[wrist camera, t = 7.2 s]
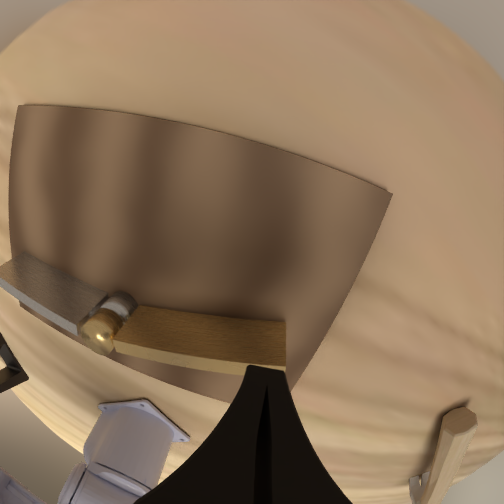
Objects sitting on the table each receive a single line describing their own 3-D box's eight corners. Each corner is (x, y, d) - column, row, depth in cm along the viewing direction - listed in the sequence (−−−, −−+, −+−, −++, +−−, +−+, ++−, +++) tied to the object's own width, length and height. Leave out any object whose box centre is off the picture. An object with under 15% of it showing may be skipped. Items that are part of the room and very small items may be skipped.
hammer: (465, 472, 12) (417, 546, 16) (501, 451, 12) (441, 536, 15) (422, 389, 28) (405, 489, 31) (451, 378, 27) (426, 482, 30)
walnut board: (24, 302, 22) (20, 306, 21) (24, 105, 14) (18, 105, 13) (275, 407, 22) (274, 414, 21) (387, 191, 14) (392, 194, 14)
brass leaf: (113, 318, 19) (86, 350, 15) (106, 290, 18) (76, 321, 14) (283, 342, 18) (282, 386, 14) (287, 313, 17) (287, 357, 13)
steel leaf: (26, 267, 19) (-5, 288, 15) (24, 244, 18) (-10, 263, 14) (138, 323, 19) (111, 360, 15) (140, 298, 18) (110, 334, 14)
